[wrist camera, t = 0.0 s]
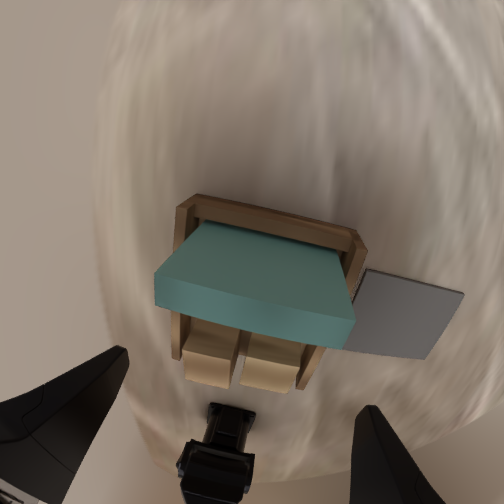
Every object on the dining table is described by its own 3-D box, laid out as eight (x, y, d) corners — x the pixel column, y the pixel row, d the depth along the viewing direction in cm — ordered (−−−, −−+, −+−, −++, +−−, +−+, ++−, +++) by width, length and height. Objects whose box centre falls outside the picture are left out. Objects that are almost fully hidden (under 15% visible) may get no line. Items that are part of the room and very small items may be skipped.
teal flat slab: (327, 269, 21) (341, 349, 13) (205, 240, 22) (154, 305, 14) (335, 246, 20) (356, 320, 12) (208, 217, 21) (154, 272, 13)
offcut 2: (289, 363, 26) (287, 393, 22) (246, 354, 26) (239, 383, 23) (300, 336, 24) (300, 367, 21) (253, 325, 24) (246, 356, 21)
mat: (423, 357, 25) (424, 359, 24) (331, 345, 25) (331, 347, 25) (463, 292, 21) (464, 294, 20) (366, 268, 22) (367, 270, 21)
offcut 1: (239, 351, 26) (228, 389, 22) (201, 343, 27) (185, 378, 22) (242, 321, 24) (230, 360, 20) (200, 313, 25) (181, 349, 20)
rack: (304, 361, 27) (303, 390, 23) (185, 332, 28) (171, 358, 24) (356, 230, 20) (367, 250, 17) (196, 193, 21) (176, 206, 18)
